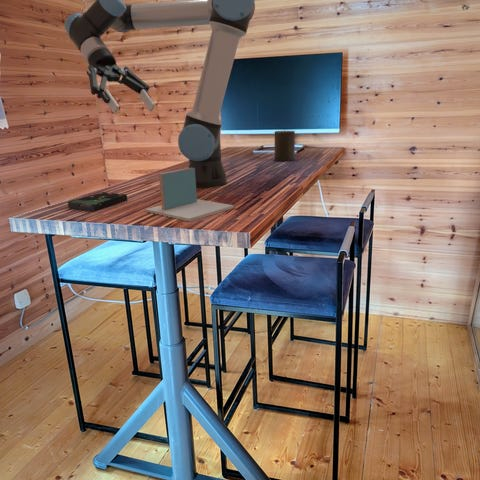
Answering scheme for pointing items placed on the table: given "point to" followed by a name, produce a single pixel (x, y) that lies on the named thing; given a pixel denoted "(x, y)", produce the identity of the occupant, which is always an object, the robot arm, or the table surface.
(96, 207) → the disk drive
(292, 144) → the pillar candle
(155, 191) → the table surface
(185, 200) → the tile
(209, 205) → the mat
